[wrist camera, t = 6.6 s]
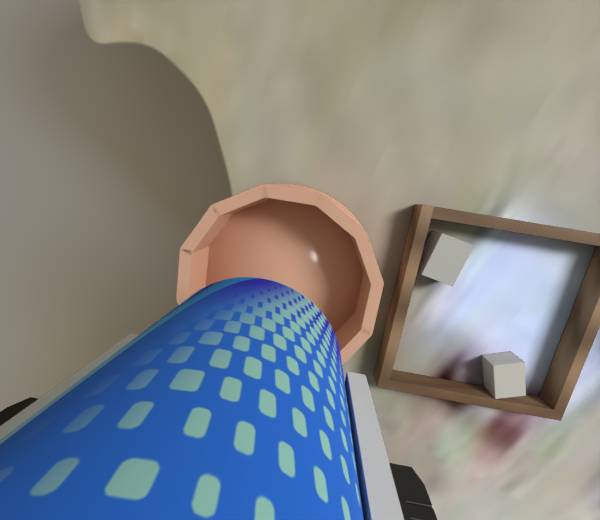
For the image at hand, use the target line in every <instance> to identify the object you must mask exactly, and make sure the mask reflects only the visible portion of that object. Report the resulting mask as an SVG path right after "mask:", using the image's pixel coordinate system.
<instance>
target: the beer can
mask: <svg viewBox="0 0 600 520" xmlns="http://www.w3.org/2000/svg"><path fill="white" fill-rule="evenodd" d="M0 520H364V519H363V512H362V504H361V497H360V490H359V483H358V476H357V469H356V461H355V454H354V447H353V440H352V433H351V426H350V419H349V411H348V404H347V397H346V390H345V383H344V376H343V368H342V361H341V354H340V348H339V344H338V341H337V338H336V335H335V333H334V331H333V329H332V327H331V325H330V323H329V322H328V320H327V319H326V317H325V316H324V315H323V313H322V312H321V311H320V310H319V309H318V307H317V306H316V305H315V304H314V303H312V302H311V301H310V300H309V299H308V298H307V297H305V296H304V295H302V294H301V293H300V292H298V291H296V290H294V289H293V288H291V287H289V286H286V285H284V284H282V283H279V282H276V281H272V280H268V279H263V278H257V277H237V278H230V279H226V280H221V281H218V282H215V283H212V284H210V285H208V286H206V287H204V288H202V289H200V290H199V291H197V292H196V293H194V294H193V295H192V296H190V297H189V298H188V299H186V300H185V301H184V302H182V303H181V304H180V305H178V306H177V307H176V308H174V309H173V310H172V311H171V312H169V313H168V314H167V315H165V316H164V317H163V318H161V319H160V320H159V321H157V322H156V323H155V324H153V325H152V326H151V327H149V328H148V329H147V330H145V331H144V332H143V333H141V334H140V335H139V336H137V337H136V338H135V339H133V340H132V341H131V342H129V343H128V344H127V345H125V346H124V347H123V348H121V349H120V350H119V351H117V352H116V353H115V354H113V355H112V356H111V357H109V358H108V359H107V360H106V361H104V362H103V363H102V364H100V365H99V366H98V367H96V368H95V369H94V370H92V371H91V372H90V373H88V374H87V375H86V376H84V377H83V378H82V379H80V380H79V381H78V382H76V383H75V384H74V385H72V386H71V387H70V388H68V389H67V390H66V391H64V392H63V393H62V394H60V395H59V396H58V397H56V398H55V399H54V400H52V401H51V402H50V403H48V404H47V405H46V406H44V407H43V408H42V409H41V410H39V411H38V412H37V413H35V414H34V415H33V416H31V417H30V418H29V419H27V420H26V421H25V422H23V423H22V424H21V425H19V426H18V427H17V428H15V429H14V430H13V431H11V432H10V433H9V434H7V435H6V436H5V437H3V438H2V439H1V440H0Z"/></svg>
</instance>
